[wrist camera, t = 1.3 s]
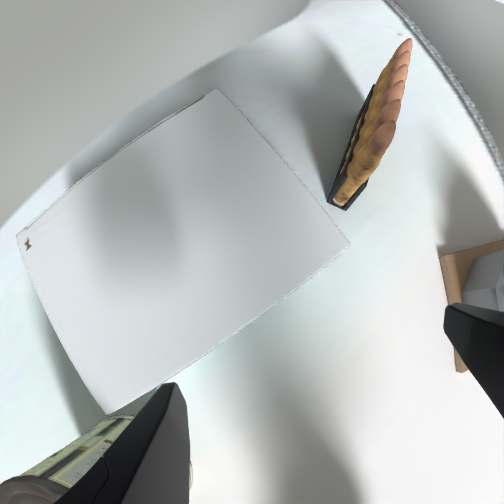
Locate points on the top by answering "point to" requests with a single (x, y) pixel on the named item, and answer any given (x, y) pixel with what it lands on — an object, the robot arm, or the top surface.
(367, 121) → the ammunition clip
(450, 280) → the pump canister
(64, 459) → the coffee can
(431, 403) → the top surface
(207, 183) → the supplement box
